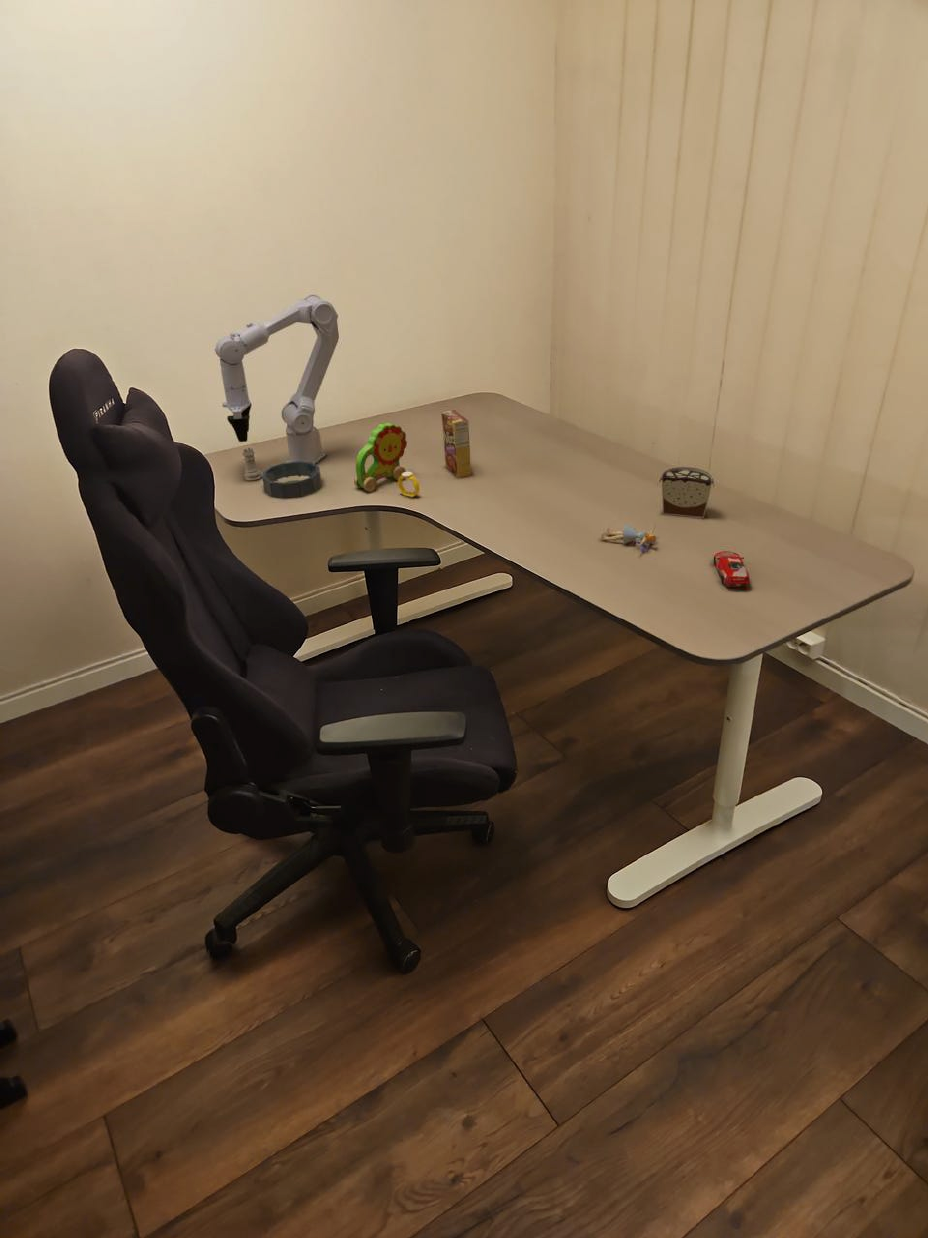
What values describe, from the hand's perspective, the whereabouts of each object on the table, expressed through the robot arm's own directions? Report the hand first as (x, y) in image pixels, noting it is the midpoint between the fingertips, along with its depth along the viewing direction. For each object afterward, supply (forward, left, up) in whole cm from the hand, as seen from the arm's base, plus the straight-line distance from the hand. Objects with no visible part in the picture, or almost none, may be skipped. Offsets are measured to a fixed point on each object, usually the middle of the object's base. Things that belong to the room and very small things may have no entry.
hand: (243, 436), depth 234 cm
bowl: (+5, +16, -10) cm, 20 cm away
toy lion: (-4, +38, -11) cm, 40 cm away
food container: (-8, +115, -11) cm, 116 cm away
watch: (+2, +48, -11) cm, 49 cm away
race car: (+20, +129, -11) cm, 131 cm away
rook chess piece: (+3, +3, -11) cm, 11 cm away
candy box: (-16, +54, -11) cm, 57 cm away
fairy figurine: (+12, +106, -11) cm, 107 cm away
